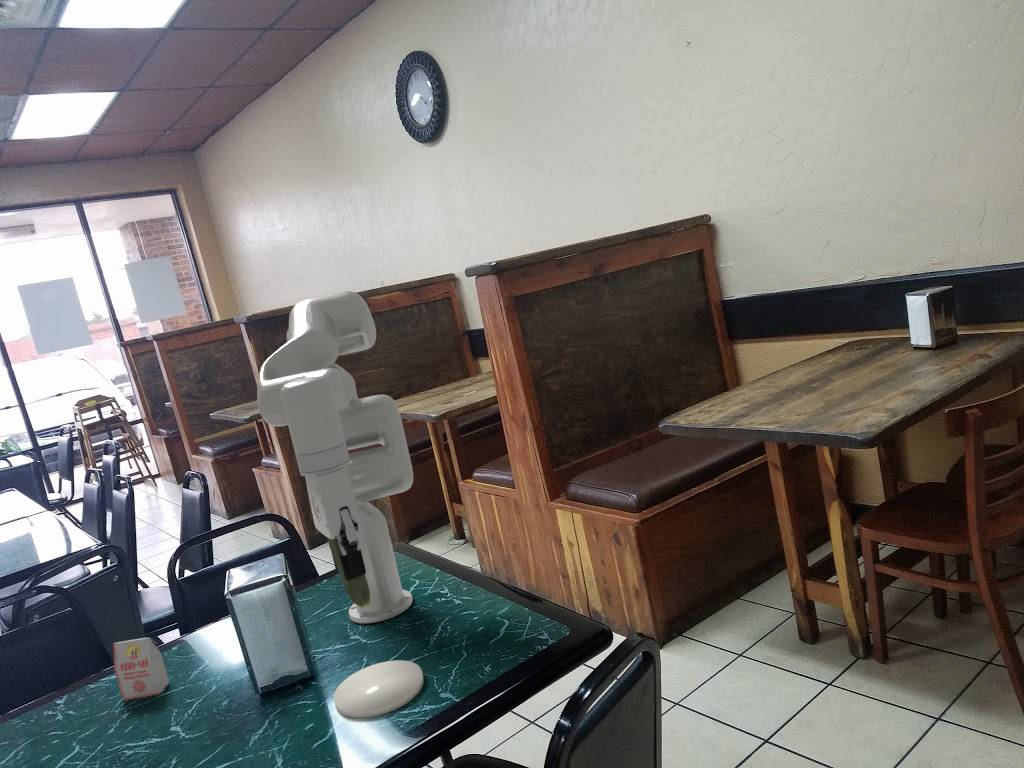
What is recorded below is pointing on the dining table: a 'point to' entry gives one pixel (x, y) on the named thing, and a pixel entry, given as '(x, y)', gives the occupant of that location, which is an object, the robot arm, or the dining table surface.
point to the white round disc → (378, 689)
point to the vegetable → (353, 587)
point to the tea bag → (139, 668)
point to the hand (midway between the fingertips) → (350, 571)
